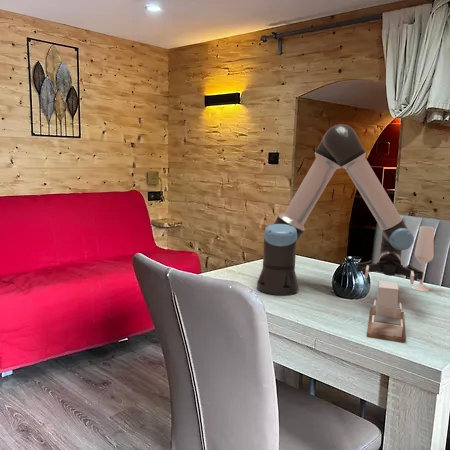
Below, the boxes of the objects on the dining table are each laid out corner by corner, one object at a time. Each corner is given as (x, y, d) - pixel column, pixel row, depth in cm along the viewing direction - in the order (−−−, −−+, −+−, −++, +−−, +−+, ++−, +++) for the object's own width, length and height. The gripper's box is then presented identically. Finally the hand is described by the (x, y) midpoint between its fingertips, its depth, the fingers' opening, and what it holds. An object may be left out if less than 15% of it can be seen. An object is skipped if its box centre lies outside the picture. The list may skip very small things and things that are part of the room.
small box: (395, 325, 129) (399, 289, 127) (375, 322, 131) (378, 286, 129) (395, 316, 137) (398, 282, 135) (375, 313, 138) (378, 280, 137)
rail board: (366, 336, 124) (367, 321, 123) (370, 310, 146) (371, 297, 146) (405, 342, 121) (407, 327, 120) (403, 314, 143) (404, 301, 142)
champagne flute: (407, 287, 175) (413, 226, 171) (417, 285, 179) (423, 225, 175) (424, 292, 169) (430, 229, 166) (433, 289, 173) (440, 227, 170)
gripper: (426, 278, 157) (431, 294, 138) (352, 268, 166) (347, 282, 146) (429, 257, 156) (434, 270, 137) (354, 248, 165) (349, 260, 145)
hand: (389, 276), depth 141 cm, fingers open, 13 cm apart
